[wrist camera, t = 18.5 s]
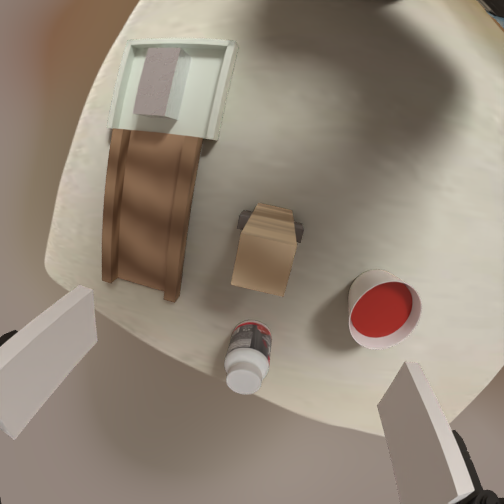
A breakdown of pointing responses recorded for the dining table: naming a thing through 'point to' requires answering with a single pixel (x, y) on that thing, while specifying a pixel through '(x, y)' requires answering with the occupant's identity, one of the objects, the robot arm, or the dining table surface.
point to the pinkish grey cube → (158, 99)
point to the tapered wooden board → (266, 249)
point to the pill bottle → (248, 357)
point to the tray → (195, 94)
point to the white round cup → (382, 309)
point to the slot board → (148, 208)
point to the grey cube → (166, 65)
